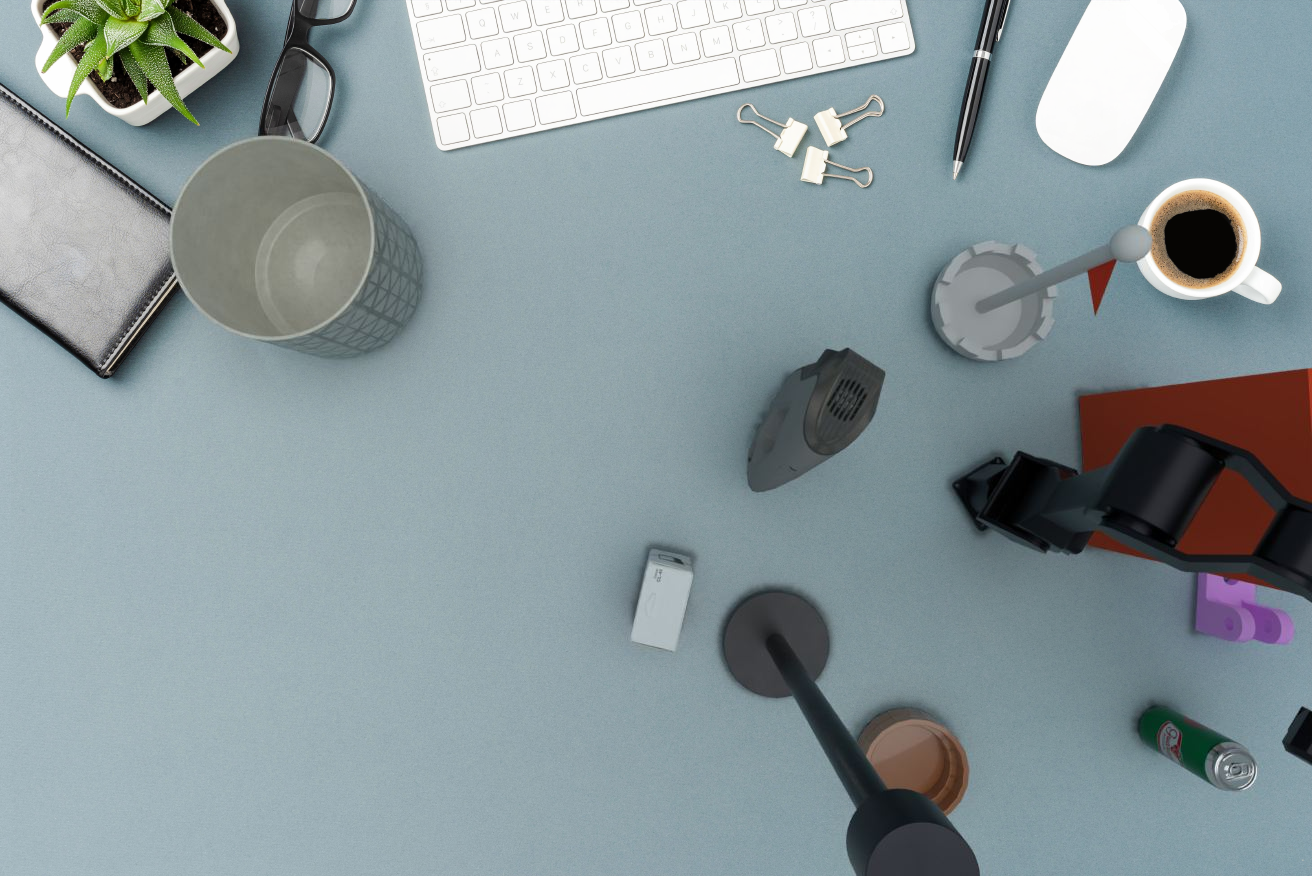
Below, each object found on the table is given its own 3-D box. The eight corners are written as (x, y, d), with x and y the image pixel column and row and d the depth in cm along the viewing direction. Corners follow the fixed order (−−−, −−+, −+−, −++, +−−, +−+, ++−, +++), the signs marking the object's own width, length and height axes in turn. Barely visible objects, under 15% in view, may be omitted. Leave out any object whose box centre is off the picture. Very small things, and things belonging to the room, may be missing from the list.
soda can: (1134, 706, 89) (1209, 747, 77) (1177, 702, 89) (1259, 742, 77) (1138, 750, 89) (1213, 798, 77) (1181, 746, 89) (1264, 793, 77)
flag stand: (929, 245, 89) (1069, 143, 59) (1041, 260, 89) (1236, 166, 59) (914, 356, 89) (1046, 310, 59) (1026, 371, 89) (1214, 334, 59)
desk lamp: (703, 623, 89) (763, 839, 40) (792, 570, 89) (962, 720, 40) (756, 713, 89) (883, 1041, 40) (845, 659, 89) (1082, 921, 40)
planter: (258, 207, 89) (157, 146, 71) (421, 189, 89) (362, 124, 71) (275, 370, 89) (178, 350, 71) (439, 352, 89) (384, 328, 71)
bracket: (1243, 632, 89) (1293, 648, 82) (1195, 629, 89) (1241, 645, 82) (1249, 520, 89) (1299, 526, 82) (1201, 517, 89) (1247, 523, 82)
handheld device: (839, 392, 89) (911, 370, 64) (768, 503, 89) (813, 524, 64) (795, 364, 89) (849, 331, 64) (724, 474, 89) (752, 485, 64)
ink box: (674, 629, 89) (677, 657, 77) (631, 619, 89) (628, 645, 77) (691, 555, 89) (697, 571, 77) (648, 545, 89) (648, 560, 77)
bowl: (834, 739, 89) (843, 754, 85) (921, 687, 89) (934, 699, 85) (886, 826, 89) (897, 845, 84) (972, 774, 89) (988, 791, 85)
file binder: (1083, 545, 89) (1324, 600, 57) (1075, 396, 89) (1309, 368, 57) (1153, 541, 89) (1432, 594, 57) (1144, 392, 89) (1417, 362, 57)
